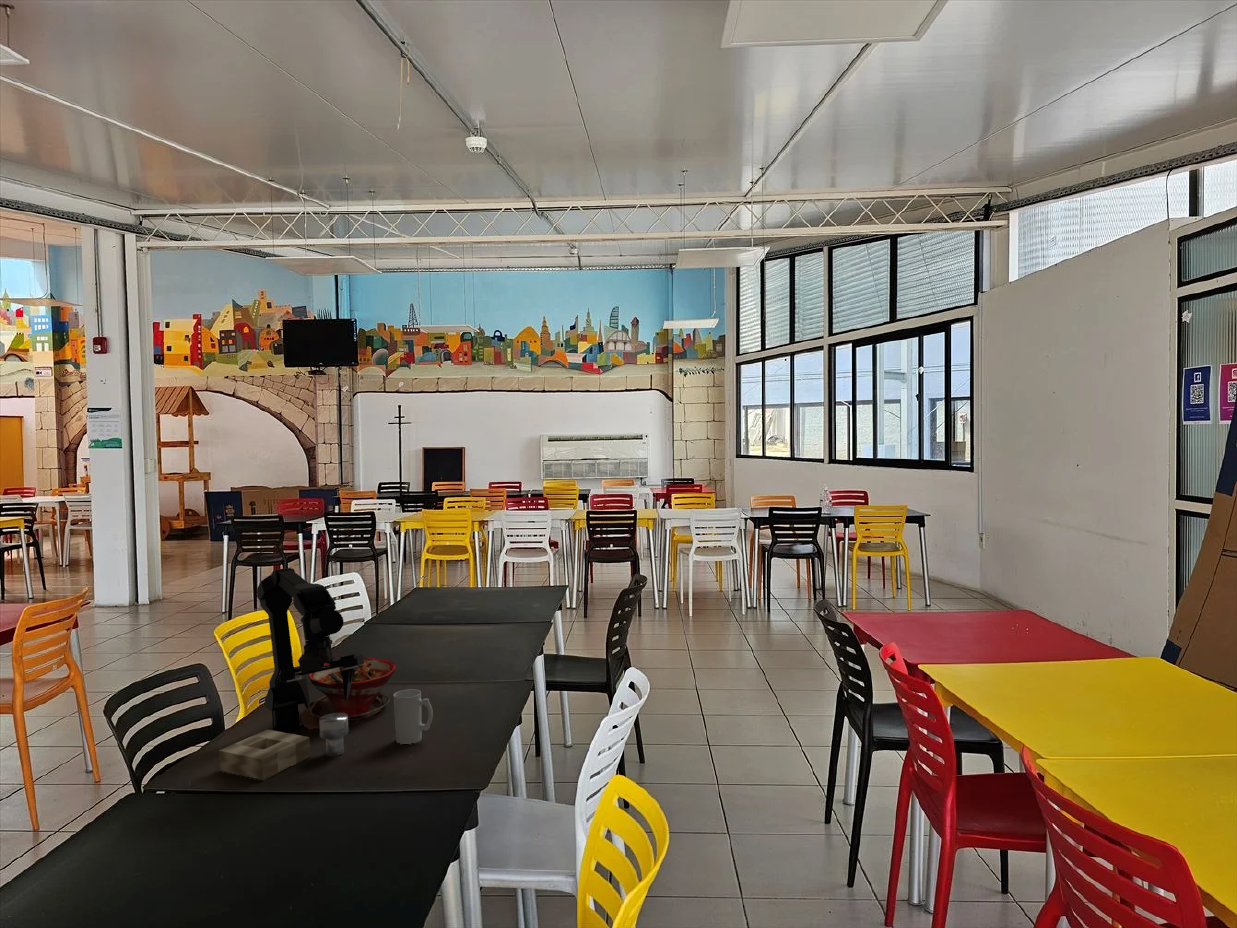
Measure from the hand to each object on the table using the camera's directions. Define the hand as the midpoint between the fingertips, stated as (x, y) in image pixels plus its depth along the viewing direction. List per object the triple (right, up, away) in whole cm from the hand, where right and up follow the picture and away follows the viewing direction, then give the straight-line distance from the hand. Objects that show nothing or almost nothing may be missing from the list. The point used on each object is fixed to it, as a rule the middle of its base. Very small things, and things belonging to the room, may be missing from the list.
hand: (327, 703), depth 196 cm
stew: (-5, -12, +33) cm, 36 cm away
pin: (0, -13, +4) cm, 14 cm away
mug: (+18, -13, +11) cm, 25 cm away
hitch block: (-14, -14, -1) cm, 20 cm away
